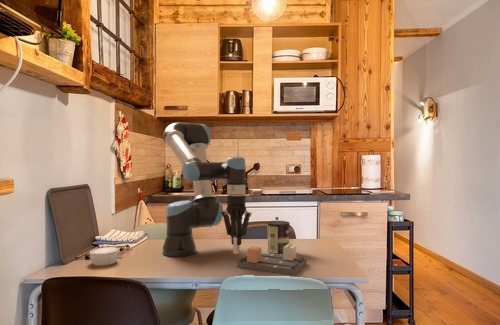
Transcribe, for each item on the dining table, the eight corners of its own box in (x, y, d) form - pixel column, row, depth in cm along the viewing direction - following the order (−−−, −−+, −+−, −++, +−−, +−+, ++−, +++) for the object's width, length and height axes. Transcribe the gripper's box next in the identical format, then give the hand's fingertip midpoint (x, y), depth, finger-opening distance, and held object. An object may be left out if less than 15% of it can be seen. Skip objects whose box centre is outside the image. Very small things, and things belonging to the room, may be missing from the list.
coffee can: (290, 250, 162) (290, 220, 162) (288, 256, 151) (288, 224, 151) (268, 249, 164) (268, 220, 164) (265, 255, 154) (265, 223, 154)
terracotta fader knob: (247, 261, 135) (247, 248, 135) (252, 258, 140) (252, 246, 140) (256, 263, 134) (256, 249, 134) (261, 259, 138) (261, 247, 138)
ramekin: (90, 260, 145) (90, 248, 145) (118, 258, 149) (118, 245, 149) (88, 268, 135) (88, 254, 135) (118, 265, 139) (118, 252, 139)
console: (236, 267, 136) (236, 259, 136) (253, 256, 151) (253, 250, 151) (294, 275, 126) (294, 267, 126) (306, 263, 141) (306, 256, 141)
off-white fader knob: (283, 259, 139) (283, 246, 139) (286, 256, 143) (287, 244, 143) (292, 260, 137) (292, 247, 137) (296, 257, 142) (296, 245, 142)
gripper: (217, 195, 139) (218, 253, 139) (246, 196, 134) (247, 256, 134) (226, 193, 146) (226, 249, 146) (254, 194, 141) (254, 252, 141)
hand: (236, 252), depth 140 cm, fingers closed
